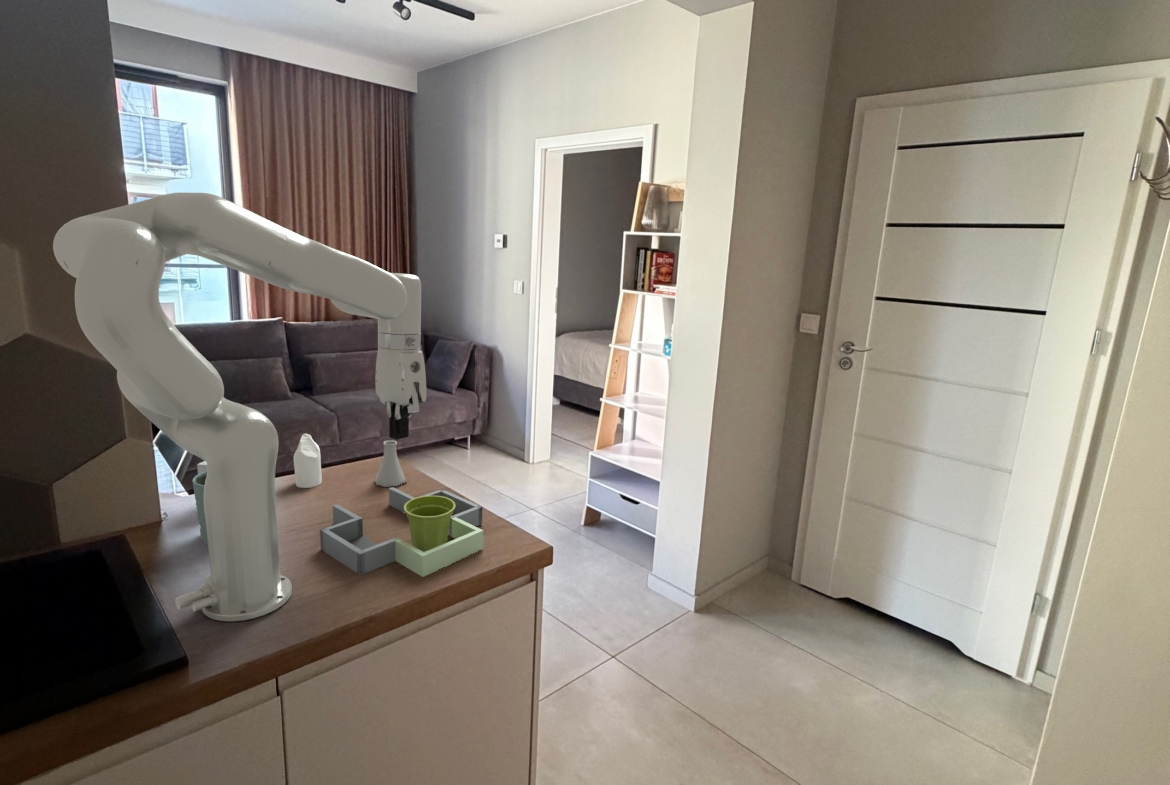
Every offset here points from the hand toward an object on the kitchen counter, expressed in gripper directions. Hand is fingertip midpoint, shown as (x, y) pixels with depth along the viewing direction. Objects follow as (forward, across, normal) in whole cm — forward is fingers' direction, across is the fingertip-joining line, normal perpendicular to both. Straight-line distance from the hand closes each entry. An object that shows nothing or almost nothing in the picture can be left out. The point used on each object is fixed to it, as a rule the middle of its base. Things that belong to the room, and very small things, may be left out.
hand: (399, 437), depth 117 cm
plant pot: (+20, -8, -1) cm, 22 cm away
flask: (+20, +24, -15) cm, 35 cm away
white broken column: (+20, +36, -1) cm, 41 cm away
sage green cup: (+21, +22, +22) cm, 38 cm away
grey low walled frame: (+20, -2, -1) cm, 20 cm away
